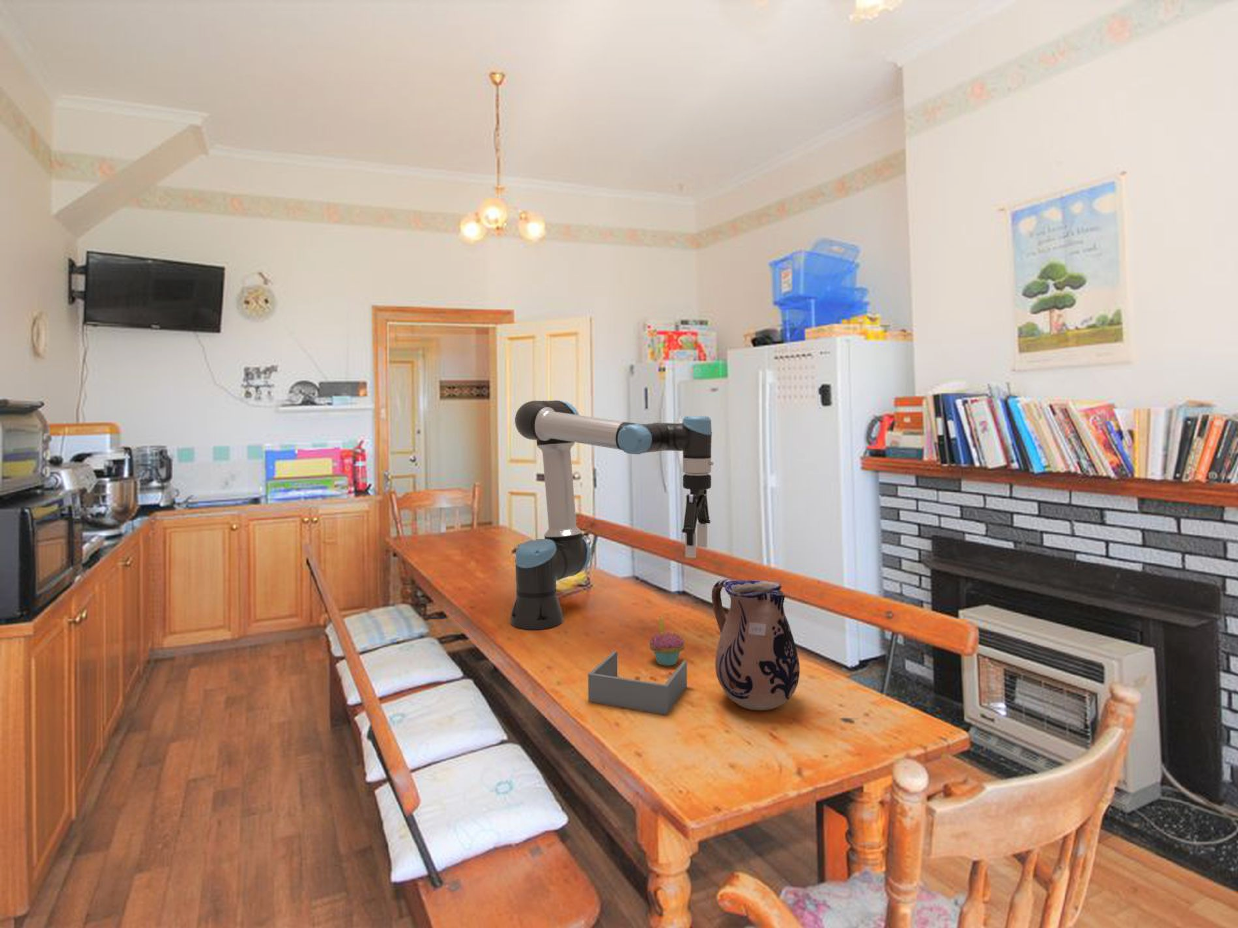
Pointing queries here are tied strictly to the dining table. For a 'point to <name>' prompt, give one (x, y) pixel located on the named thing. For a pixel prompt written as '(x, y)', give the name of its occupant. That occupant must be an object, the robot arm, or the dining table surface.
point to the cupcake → (666, 647)
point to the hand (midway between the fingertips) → (696, 552)
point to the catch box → (634, 688)
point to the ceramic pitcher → (755, 645)
